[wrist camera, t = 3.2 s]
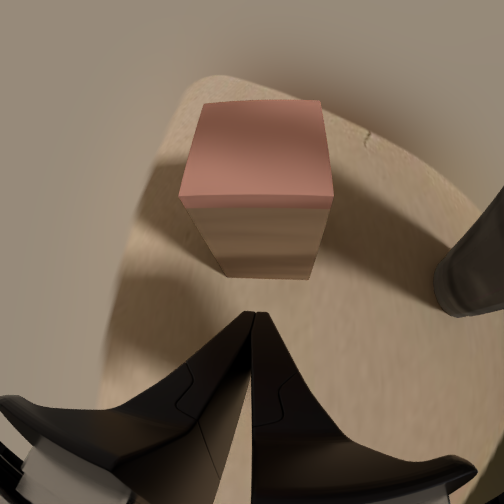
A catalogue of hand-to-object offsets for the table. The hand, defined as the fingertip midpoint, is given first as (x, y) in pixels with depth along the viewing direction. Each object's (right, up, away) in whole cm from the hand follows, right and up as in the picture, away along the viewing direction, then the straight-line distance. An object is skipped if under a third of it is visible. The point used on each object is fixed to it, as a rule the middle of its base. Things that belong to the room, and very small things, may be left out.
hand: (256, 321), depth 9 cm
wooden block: (+1, +3, +8) cm, 9 cm away
